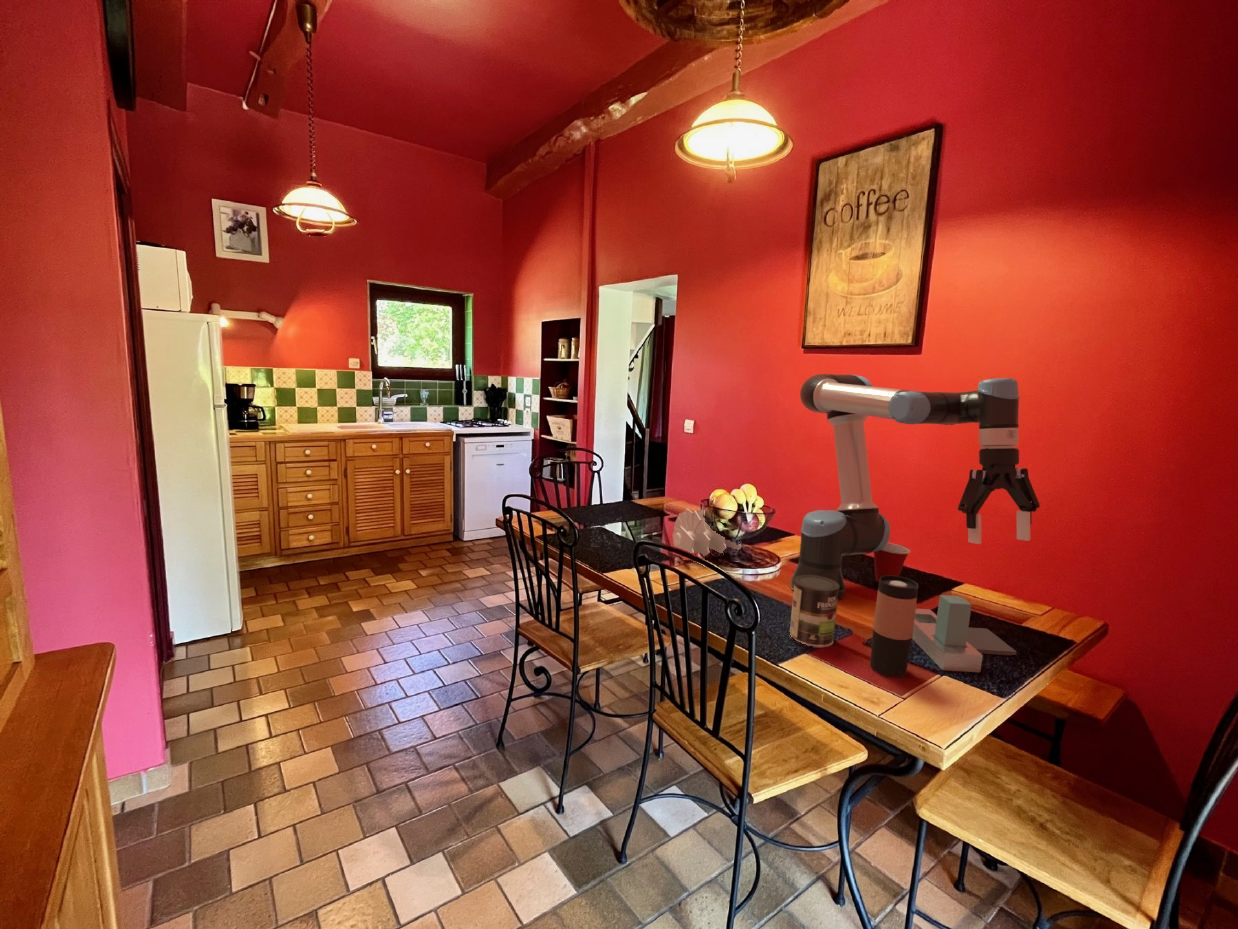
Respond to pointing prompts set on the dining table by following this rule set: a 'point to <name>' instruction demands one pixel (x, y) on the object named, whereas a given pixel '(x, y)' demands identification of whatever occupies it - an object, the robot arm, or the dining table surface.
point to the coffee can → (814, 610)
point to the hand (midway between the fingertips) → (999, 541)
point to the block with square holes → (940, 654)
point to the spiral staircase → (698, 534)
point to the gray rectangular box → (952, 621)
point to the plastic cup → (889, 560)
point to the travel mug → (893, 625)
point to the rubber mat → (988, 642)
